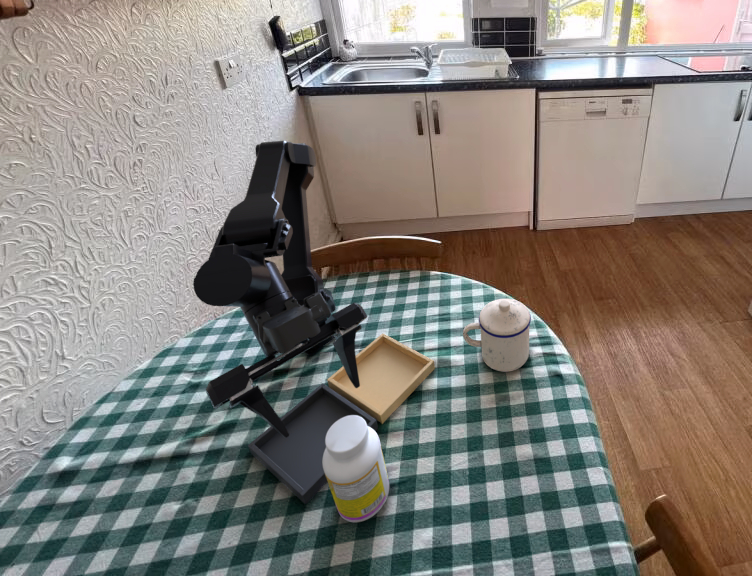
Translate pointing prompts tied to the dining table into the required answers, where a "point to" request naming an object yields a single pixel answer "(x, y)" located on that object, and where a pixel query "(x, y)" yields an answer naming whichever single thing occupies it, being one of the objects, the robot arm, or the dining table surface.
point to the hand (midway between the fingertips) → (324, 410)
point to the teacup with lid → (502, 334)
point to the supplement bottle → (355, 469)
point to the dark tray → (304, 441)
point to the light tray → (383, 377)
